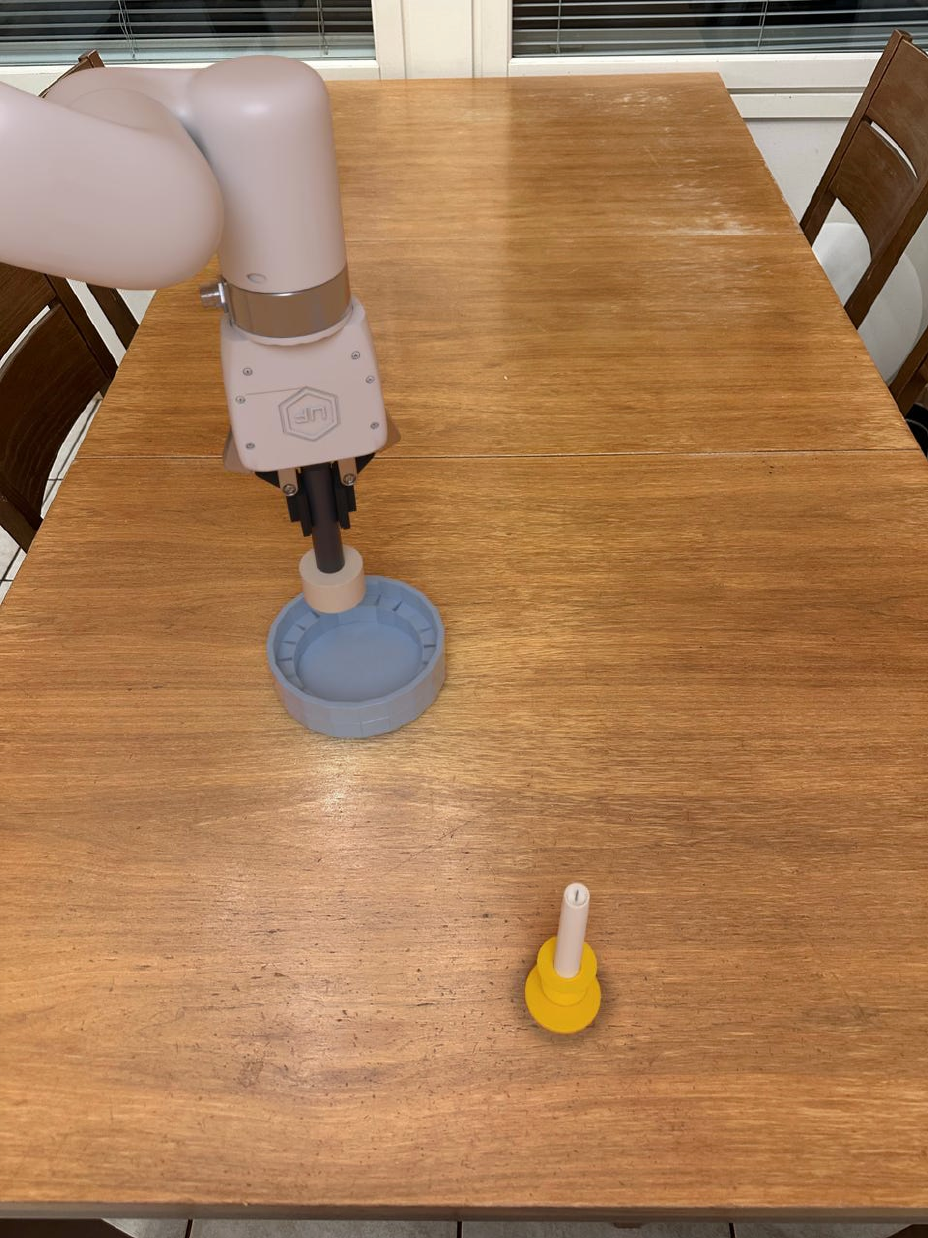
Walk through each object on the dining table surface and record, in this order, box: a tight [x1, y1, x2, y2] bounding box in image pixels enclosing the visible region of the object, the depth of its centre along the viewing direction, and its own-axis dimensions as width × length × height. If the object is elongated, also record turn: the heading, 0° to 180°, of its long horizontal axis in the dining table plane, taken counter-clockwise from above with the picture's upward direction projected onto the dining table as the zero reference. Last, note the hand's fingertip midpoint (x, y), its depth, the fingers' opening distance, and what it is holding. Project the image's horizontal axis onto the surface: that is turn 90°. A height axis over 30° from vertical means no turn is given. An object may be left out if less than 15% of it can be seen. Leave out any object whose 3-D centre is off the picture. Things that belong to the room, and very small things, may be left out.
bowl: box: [265, 574, 447, 739], centre depth 83 cm, size 15×15×5 cm
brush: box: [298, 461, 366, 613], centre depth 72 cm, size 5×5×13 cm
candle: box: [524, 882, 602, 1035], centre depth 59 cm, size 5×5×16 cm
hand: (324, 519), depth 71 cm, fingers closed on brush
